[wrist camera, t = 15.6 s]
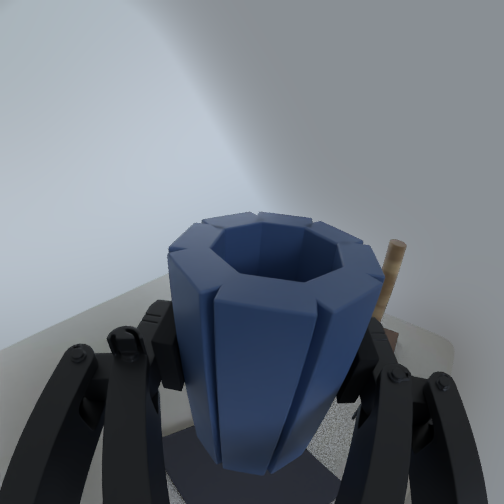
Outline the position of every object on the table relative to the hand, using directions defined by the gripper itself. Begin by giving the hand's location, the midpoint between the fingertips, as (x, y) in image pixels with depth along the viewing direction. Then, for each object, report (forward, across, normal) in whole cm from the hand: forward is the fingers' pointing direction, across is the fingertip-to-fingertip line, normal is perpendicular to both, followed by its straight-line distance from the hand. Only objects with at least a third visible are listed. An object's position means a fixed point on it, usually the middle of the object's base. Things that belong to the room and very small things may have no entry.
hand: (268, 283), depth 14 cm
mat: (-5, 0, -18) cm, 18 cm away
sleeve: (-5, 0, -6) cm, 8 cm away
